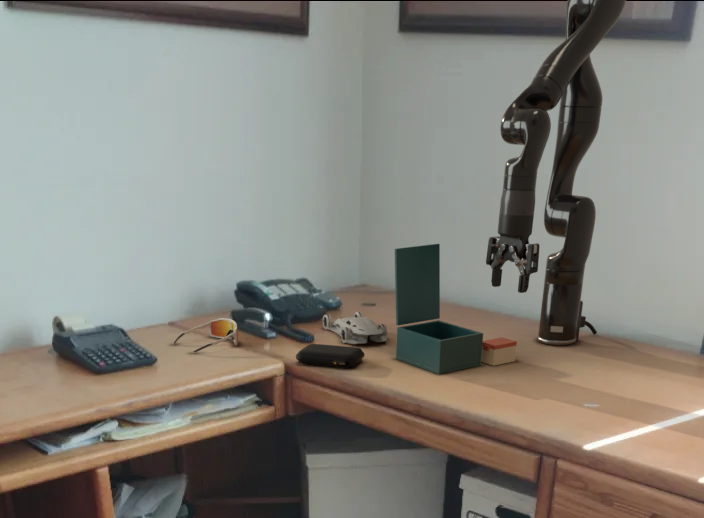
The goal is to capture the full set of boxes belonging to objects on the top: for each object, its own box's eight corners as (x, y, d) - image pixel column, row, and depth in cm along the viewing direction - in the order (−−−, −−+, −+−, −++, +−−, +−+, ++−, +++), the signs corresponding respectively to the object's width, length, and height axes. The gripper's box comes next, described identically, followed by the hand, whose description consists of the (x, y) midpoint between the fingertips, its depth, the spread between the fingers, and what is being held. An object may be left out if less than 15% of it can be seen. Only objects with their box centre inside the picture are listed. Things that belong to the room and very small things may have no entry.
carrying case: (291, 366, 215) (352, 371, 211) (291, 352, 213) (352, 358, 209) (307, 354, 224) (366, 359, 220) (307, 341, 222) (366, 346, 218)
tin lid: (439, 243, 215) (424, 242, 219) (396, 248, 208) (381, 247, 212) (439, 318, 222) (425, 316, 226) (397, 325, 216) (384, 323, 220)
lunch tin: (480, 365, 216) (483, 333, 212) (438, 374, 209) (440, 341, 206) (437, 351, 226) (438, 320, 223) (396, 359, 220) (396, 327, 216)
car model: (359, 323, 250) (359, 304, 248) (395, 345, 231) (395, 324, 228) (320, 327, 247) (319, 307, 244) (353, 349, 228) (353, 328, 225)
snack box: (501, 356, 223) (503, 336, 220) (516, 360, 219) (518, 341, 217) (477, 361, 219) (478, 341, 216) (491, 366, 215) (493, 346, 213)
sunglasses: (250, 344, 231) (247, 324, 228) (198, 363, 224) (193, 342, 221) (221, 333, 240) (217, 314, 237) (169, 351, 234) (165, 331, 231)
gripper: (552, 214, 202) (543, 293, 211) (506, 207, 212) (499, 282, 221) (527, 216, 199) (518, 296, 207) (482, 209, 209) (475, 285, 217)
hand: (508, 289), depth 214 cm, fingers open, 8 cm apart
